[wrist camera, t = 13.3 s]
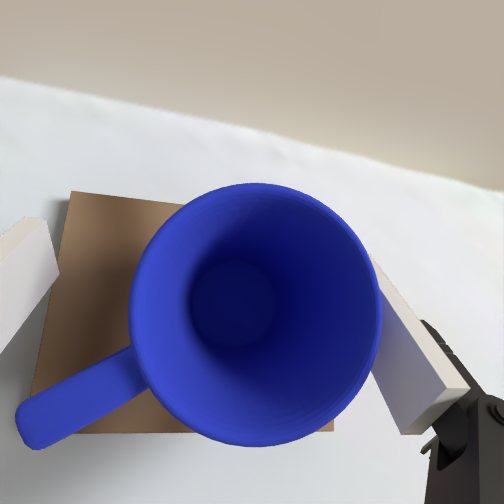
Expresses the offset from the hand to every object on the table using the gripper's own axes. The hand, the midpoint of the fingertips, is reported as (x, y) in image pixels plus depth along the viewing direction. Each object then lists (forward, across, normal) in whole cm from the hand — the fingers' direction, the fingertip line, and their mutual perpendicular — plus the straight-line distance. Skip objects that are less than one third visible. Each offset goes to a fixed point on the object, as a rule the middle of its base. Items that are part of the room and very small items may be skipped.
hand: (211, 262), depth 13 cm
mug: (+3, 0, -6) cm, 7 cm away
